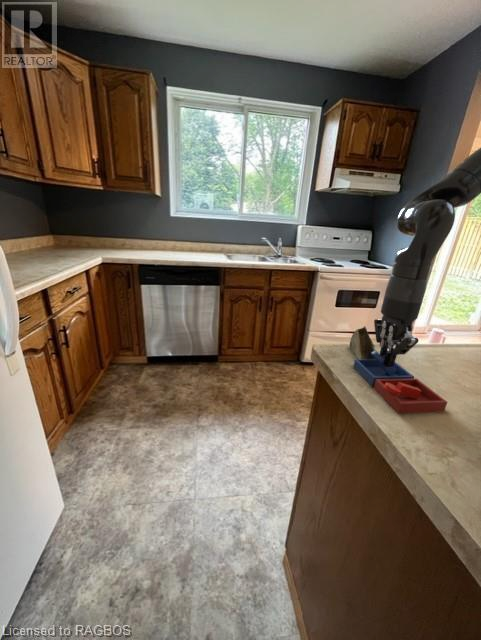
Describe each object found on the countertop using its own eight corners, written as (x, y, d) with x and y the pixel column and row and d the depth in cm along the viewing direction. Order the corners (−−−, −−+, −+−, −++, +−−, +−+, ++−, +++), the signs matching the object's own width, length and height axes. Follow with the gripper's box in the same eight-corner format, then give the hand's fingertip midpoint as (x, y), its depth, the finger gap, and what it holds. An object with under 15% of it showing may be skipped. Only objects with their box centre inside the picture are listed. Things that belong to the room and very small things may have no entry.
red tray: (413, 387, 64) (416, 378, 63) (444, 411, 56) (447, 402, 55) (373, 388, 63) (375, 379, 62) (398, 413, 55) (401, 403, 54)
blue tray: (388, 366, 73) (391, 358, 72) (411, 385, 65) (414, 376, 64) (353, 367, 72) (354, 359, 71) (371, 386, 63) (374, 377, 63)
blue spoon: (384, 371, 70) (391, 365, 69) (392, 377, 67) (399, 372, 66) (369, 351, 67) (376, 345, 67) (376, 357, 64) (384, 351, 64)
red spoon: (409, 393, 61) (414, 385, 60) (419, 402, 58) (425, 393, 57) (380, 384, 59) (385, 376, 58) (389, 393, 56) (395, 384, 55)
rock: (341, 339, 84) (337, 345, 75) (363, 320, 80) (362, 324, 71) (367, 366, 81) (367, 375, 72) (391, 348, 78) (394, 356, 69)
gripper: (442, 305, 55) (419, 379, 61) (398, 289, 68) (382, 351, 74) (409, 305, 54) (388, 379, 60) (370, 288, 67) (356, 351, 73)
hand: (385, 363), depth 67 cm, fingers closed on blue spoon, 1 cm apart
